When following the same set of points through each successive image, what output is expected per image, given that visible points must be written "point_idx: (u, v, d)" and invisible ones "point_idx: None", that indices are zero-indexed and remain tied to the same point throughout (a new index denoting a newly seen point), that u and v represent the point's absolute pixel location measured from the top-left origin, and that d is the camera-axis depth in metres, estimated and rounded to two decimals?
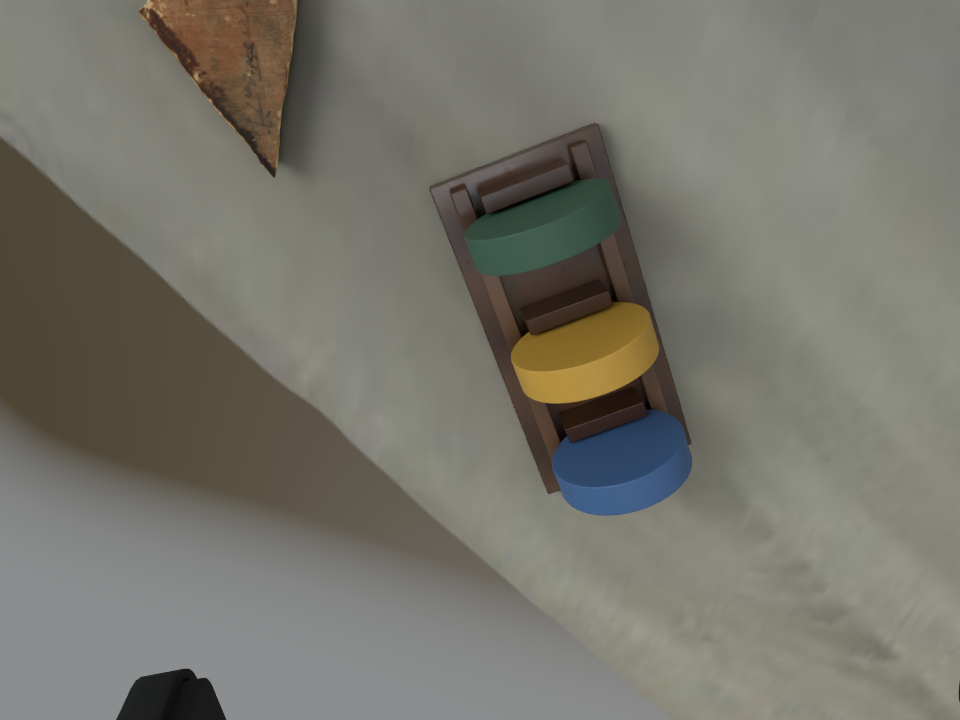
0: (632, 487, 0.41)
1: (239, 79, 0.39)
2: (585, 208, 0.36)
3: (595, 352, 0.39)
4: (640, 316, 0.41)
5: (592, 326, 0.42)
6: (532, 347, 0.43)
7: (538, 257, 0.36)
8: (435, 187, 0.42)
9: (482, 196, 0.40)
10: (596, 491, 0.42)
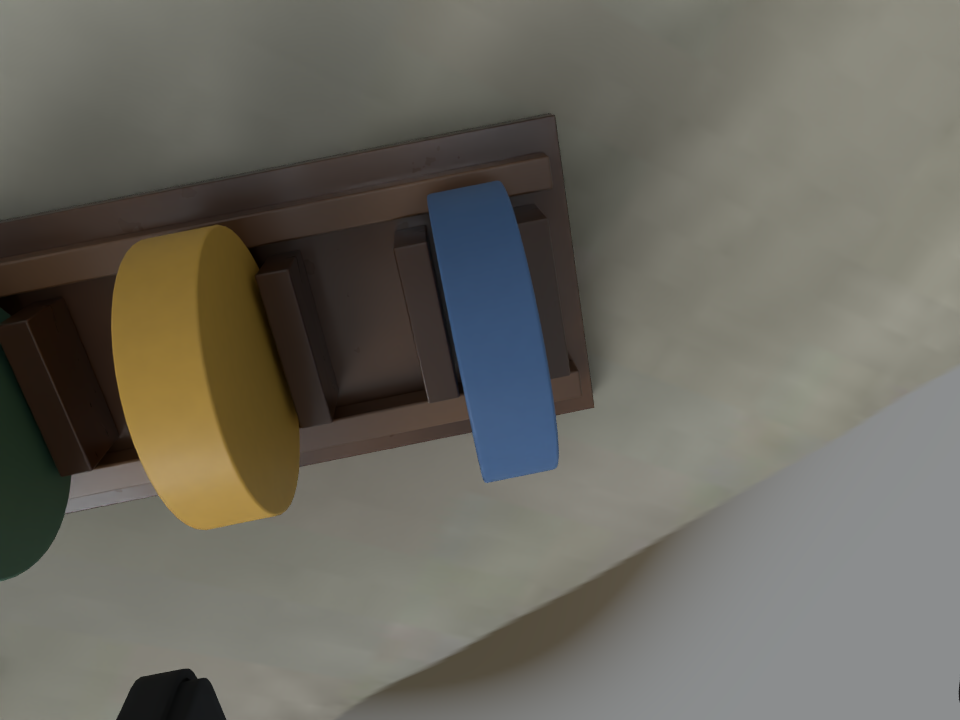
0: (483, 404, 0.17)
1: None
2: None
3: None
4: None
5: None
6: None
7: None
8: None
9: None
10: (489, 463, 0.19)
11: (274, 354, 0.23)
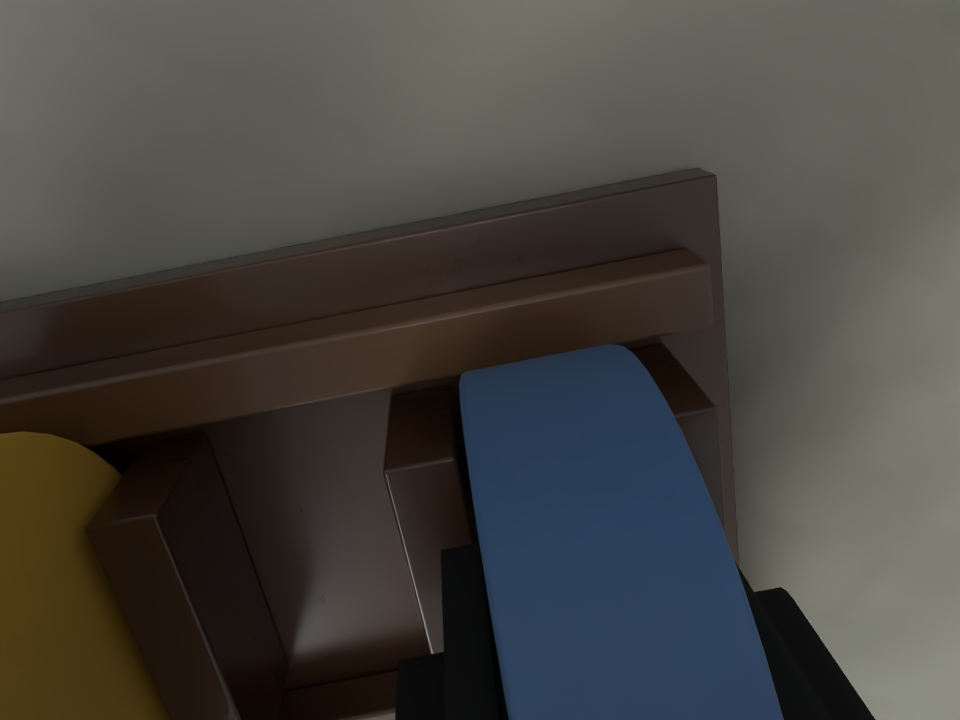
0: None
1: None
2: None
3: None
4: None
5: None
6: None
7: None
8: None
9: None
10: None
11: None
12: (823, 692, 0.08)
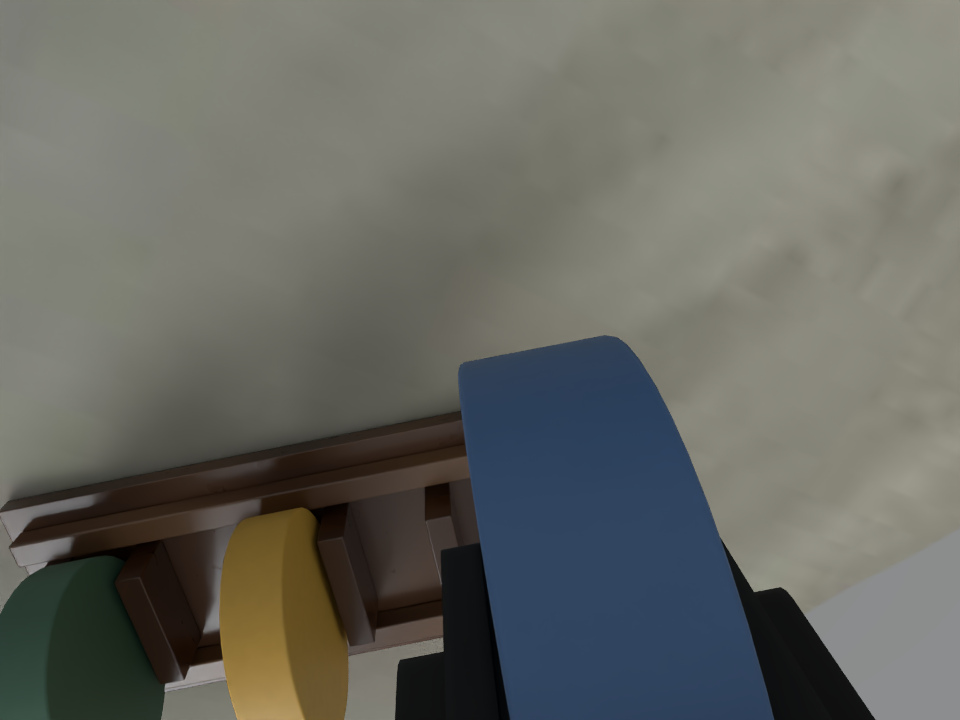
0: None
1: None
2: None
3: None
4: None
5: None
6: None
7: None
8: None
9: None
10: None
11: (329, 590, 0.29)
12: (823, 692, 0.08)
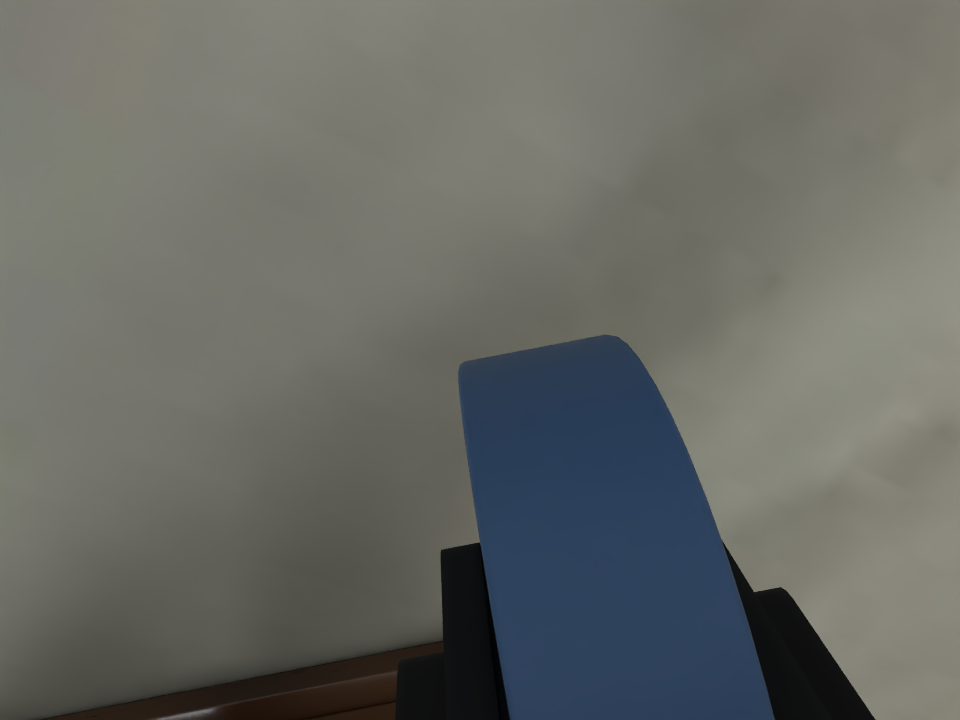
0: None
1: None
2: None
3: None
4: None
5: None
6: None
7: None
8: None
9: None
10: None
11: None
12: (823, 692, 0.08)
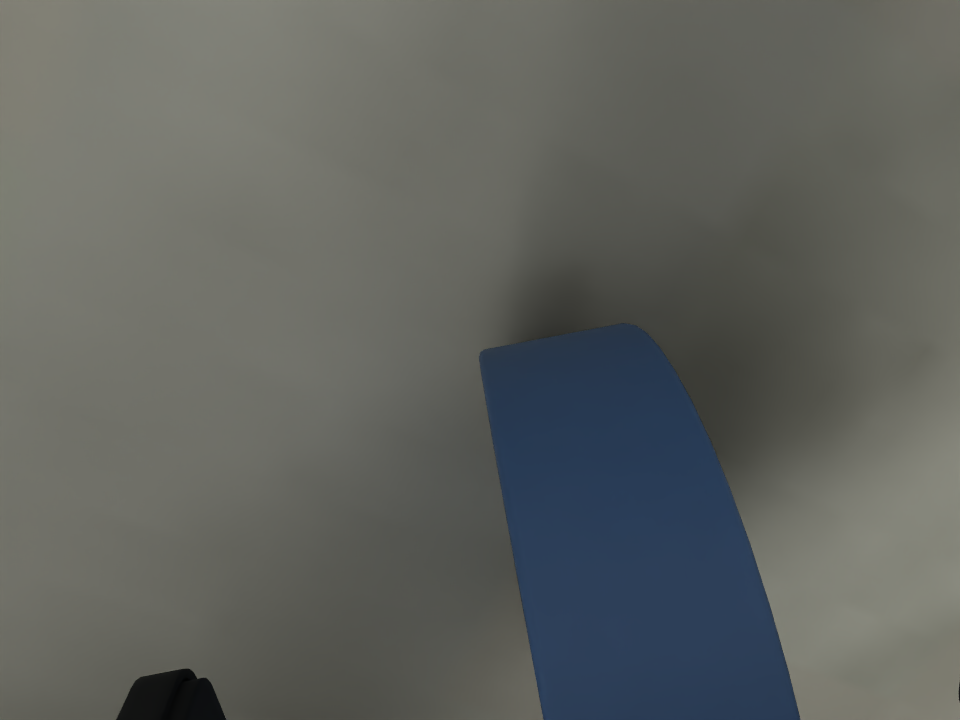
0: None
1: None
2: None
3: None
4: None
5: None
6: None
7: None
8: None
9: None
10: None
11: None
12: None
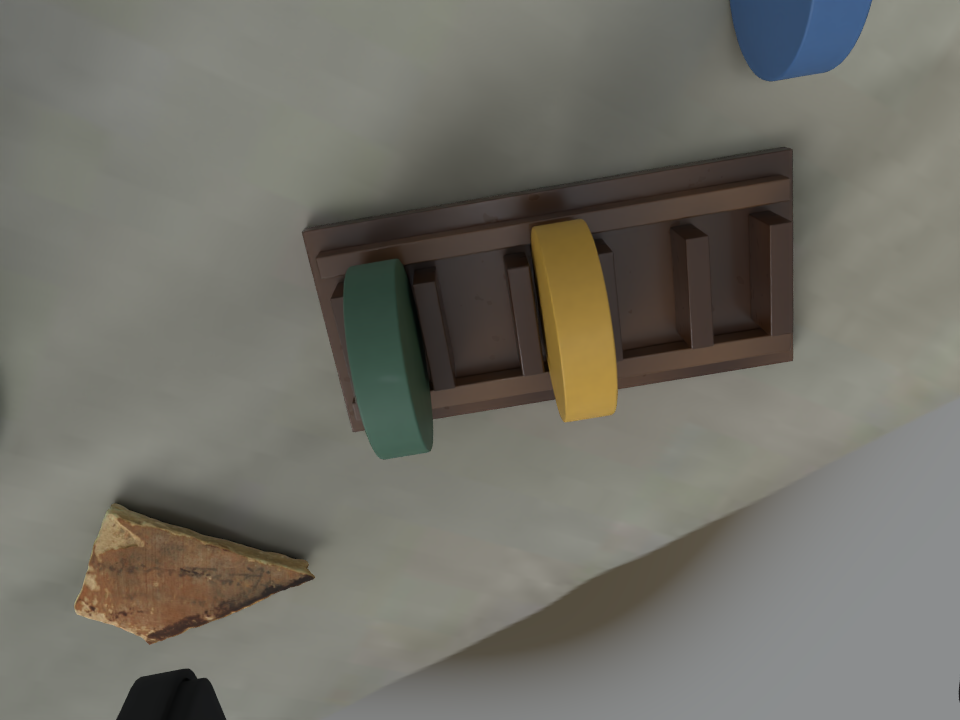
0: None
1: (213, 586, 0.39)
2: (349, 349, 0.27)
3: (555, 338, 0.28)
4: (536, 244, 0.29)
5: (543, 302, 0.31)
6: (554, 381, 0.32)
7: (401, 419, 0.28)
8: (352, 426, 0.37)
9: (356, 401, 0.34)
10: (812, 33, 0.25)
11: None
12: None
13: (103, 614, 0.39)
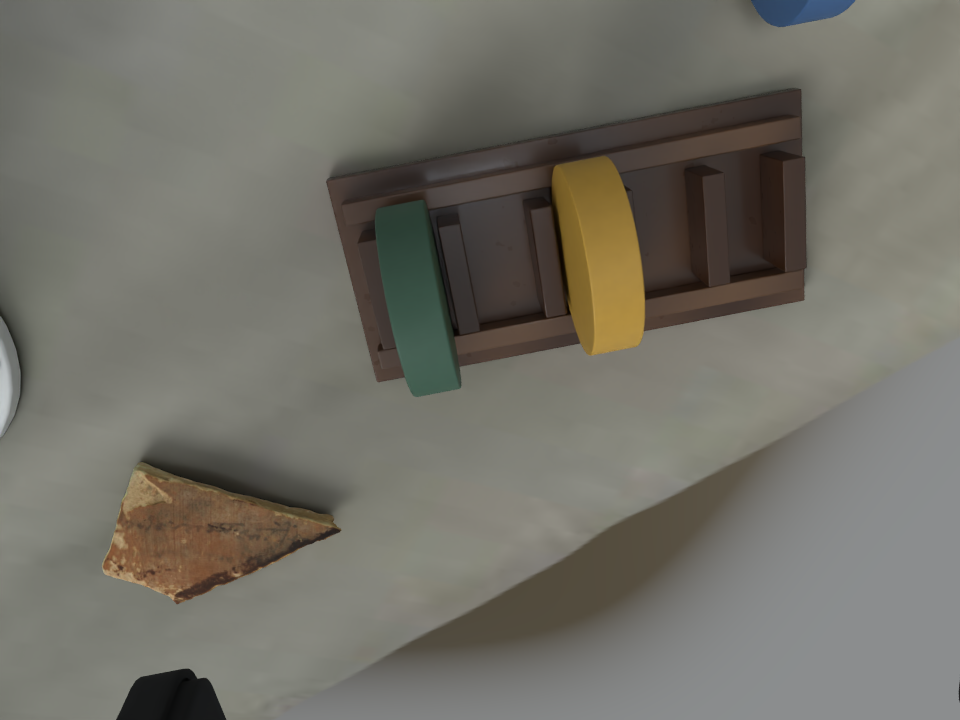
0: None
1: (241, 541, 0.39)
2: (385, 281, 0.28)
3: (583, 267, 0.29)
4: (561, 179, 0.30)
5: (566, 239, 0.32)
6: (577, 319, 0.33)
7: (436, 350, 0.28)
8: (376, 376, 0.37)
9: (383, 346, 0.34)
10: None
11: None
12: None
13: (131, 573, 0.39)
